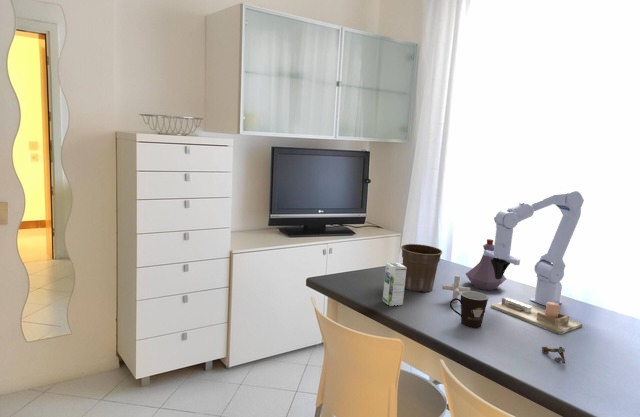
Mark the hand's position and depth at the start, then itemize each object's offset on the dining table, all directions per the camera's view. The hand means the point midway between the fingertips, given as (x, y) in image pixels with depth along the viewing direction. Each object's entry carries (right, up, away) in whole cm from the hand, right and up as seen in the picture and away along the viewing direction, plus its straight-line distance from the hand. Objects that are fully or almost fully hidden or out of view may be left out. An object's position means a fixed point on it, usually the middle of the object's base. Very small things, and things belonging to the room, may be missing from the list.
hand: (498, 278), depth 176 cm
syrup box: (-41, -8, -5) cm, 42 cm away
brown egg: (+12, -12, -16) cm, 23 cm away
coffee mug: (-18, -12, -20) cm, 30 cm away
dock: (+9, -12, -10) cm, 18 cm away
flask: (+2, -7, +21) cm, 22 cm away
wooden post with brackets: (0, -17, -42) cm, 45 cm away
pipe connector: (-16, -9, 0) cm, 19 cm away
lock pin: (+4, -10, -6) cm, 12 cm away
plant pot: (-27, -6, +14) cm, 31 cm away
